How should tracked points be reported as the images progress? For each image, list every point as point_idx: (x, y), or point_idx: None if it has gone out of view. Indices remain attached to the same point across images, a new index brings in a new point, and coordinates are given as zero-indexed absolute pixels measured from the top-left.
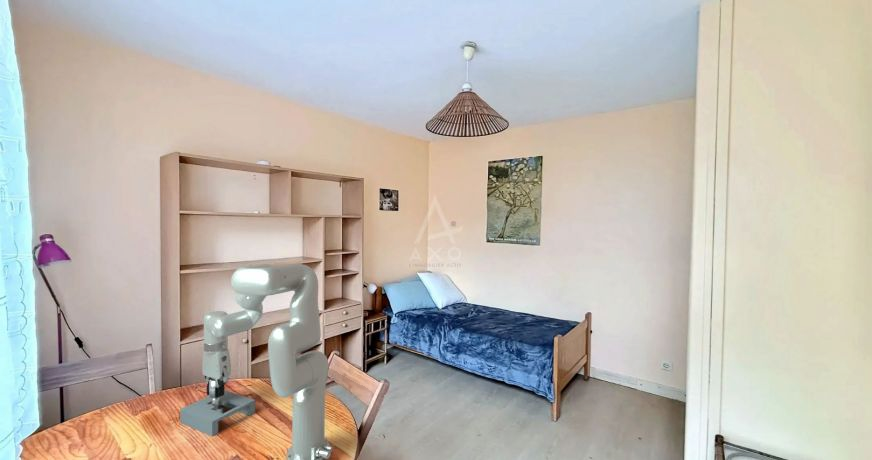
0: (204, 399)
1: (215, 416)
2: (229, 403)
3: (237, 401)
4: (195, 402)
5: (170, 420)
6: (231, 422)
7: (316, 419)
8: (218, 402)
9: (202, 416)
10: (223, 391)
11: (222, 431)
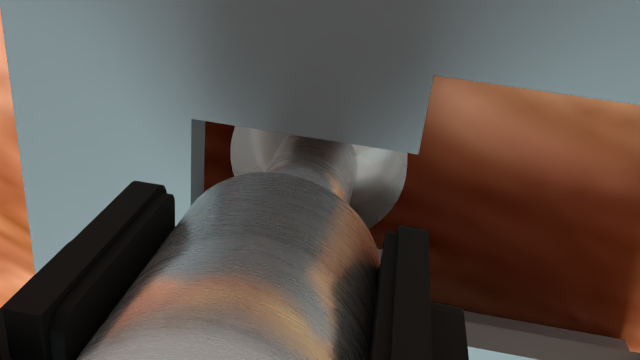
0: (54, 165)
1: None
2: None
3: (629, 56)
4: (38, 253)
5: (5, 276)
6: (611, 155)
7: None
8: (346, 196)
9: None
10: (464, 329)
11: (636, 299)
